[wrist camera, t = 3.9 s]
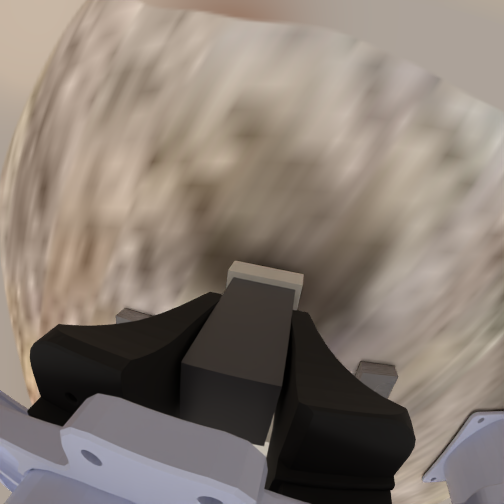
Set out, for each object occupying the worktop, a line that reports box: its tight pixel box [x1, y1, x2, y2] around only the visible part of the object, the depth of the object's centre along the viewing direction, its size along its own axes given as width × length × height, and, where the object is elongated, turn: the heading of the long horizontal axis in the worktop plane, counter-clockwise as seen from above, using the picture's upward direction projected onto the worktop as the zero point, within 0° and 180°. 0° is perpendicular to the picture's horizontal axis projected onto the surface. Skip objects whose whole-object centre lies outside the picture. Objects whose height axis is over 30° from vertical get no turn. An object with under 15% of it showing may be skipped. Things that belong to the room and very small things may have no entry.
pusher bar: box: [180, 261, 304, 457], centre depth 12 cm, size 15×8×8 cm, turn 81°
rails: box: [116, 308, 398, 398], centre depth 18 cm, size 15×17×1 cm
